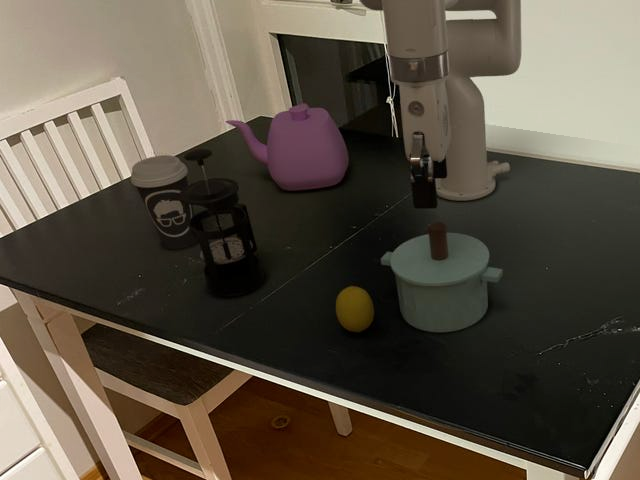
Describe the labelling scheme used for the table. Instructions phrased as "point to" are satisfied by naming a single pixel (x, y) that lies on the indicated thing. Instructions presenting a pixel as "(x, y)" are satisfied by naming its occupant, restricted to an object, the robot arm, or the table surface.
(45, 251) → the table surface
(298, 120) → the teapot
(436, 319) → the pot
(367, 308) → the lemon
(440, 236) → the lid
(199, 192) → the french press
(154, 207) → the coffee cup
